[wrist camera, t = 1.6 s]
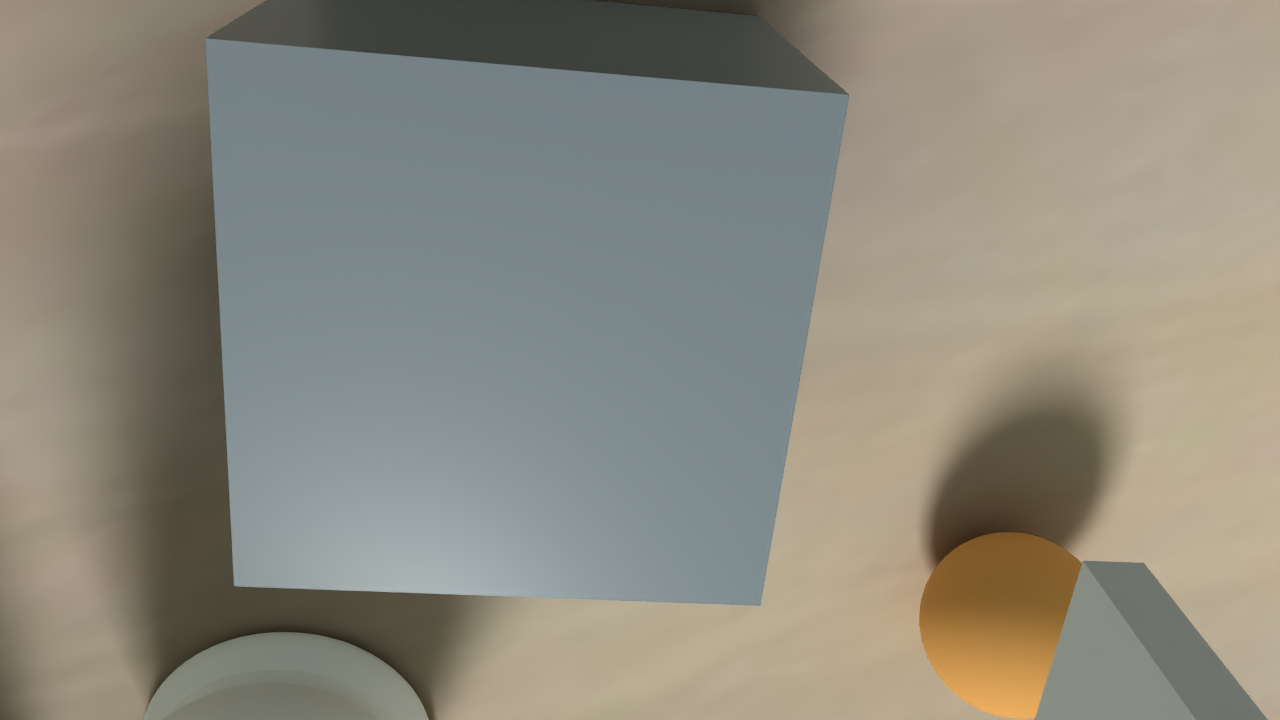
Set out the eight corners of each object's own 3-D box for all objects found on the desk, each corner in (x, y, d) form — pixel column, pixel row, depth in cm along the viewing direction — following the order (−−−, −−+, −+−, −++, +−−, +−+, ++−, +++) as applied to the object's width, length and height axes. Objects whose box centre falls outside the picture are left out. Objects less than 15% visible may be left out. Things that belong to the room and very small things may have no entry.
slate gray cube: (310, -26, 26) (205, 38, 18) (758, 16, 27) (849, 95, 19) (316, 384, 30) (234, 586, 22) (704, 406, 31) (760, 605, 23)
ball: (916, 493, 33) (976, 601, 28) (1083, 501, 33) (1168, 607, 29) (883, 636, 35) (934, 757, 30) (1041, 641, 35) (1114, 761, 31)
